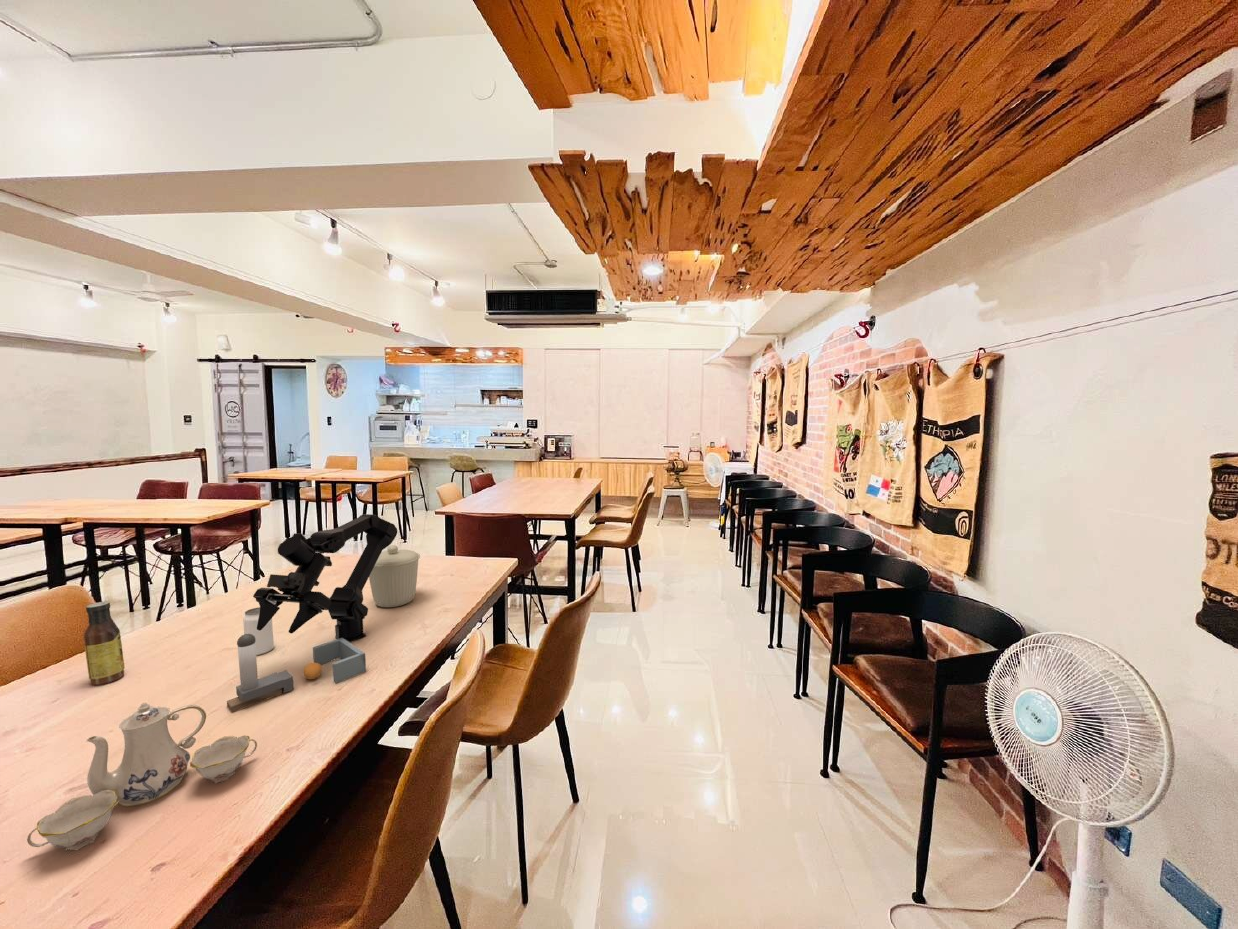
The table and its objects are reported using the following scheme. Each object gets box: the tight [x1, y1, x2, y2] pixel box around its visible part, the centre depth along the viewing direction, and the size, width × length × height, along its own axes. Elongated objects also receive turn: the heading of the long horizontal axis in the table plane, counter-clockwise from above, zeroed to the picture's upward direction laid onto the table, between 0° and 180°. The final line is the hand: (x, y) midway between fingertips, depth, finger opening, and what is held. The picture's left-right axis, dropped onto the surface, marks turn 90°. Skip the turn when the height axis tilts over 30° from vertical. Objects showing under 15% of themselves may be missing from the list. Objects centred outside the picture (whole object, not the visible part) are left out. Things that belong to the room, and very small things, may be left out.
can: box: [242, 606, 275, 657], centre depth 135 cm, size 6×6×12 cm
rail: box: [226, 688, 283, 713], centre depth 112 cm, size 10×4×1 cm, turn 141°
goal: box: [312, 638, 367, 684], centre depth 126 cm, size 7×14×5 cm, turn 51°
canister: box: [368, 544, 421, 608], centre depth 171 cm, size 18×18×21 cm
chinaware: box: [26, 702, 258, 851], centre depth 83 cm, size 28×17×17 cm, turn 148°
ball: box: [302, 662, 323, 680], centre depth 122 cm, size 4×4×4 cm
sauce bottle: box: [83, 601, 125, 686], centre depth 120 cm, size 7×6×20 cm
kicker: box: [235, 633, 295, 702], centre depth 113 cm, size 10×5×16 cm, turn 141°
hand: (274, 631), depth 118 cm, fingers open, 9 cm apart
